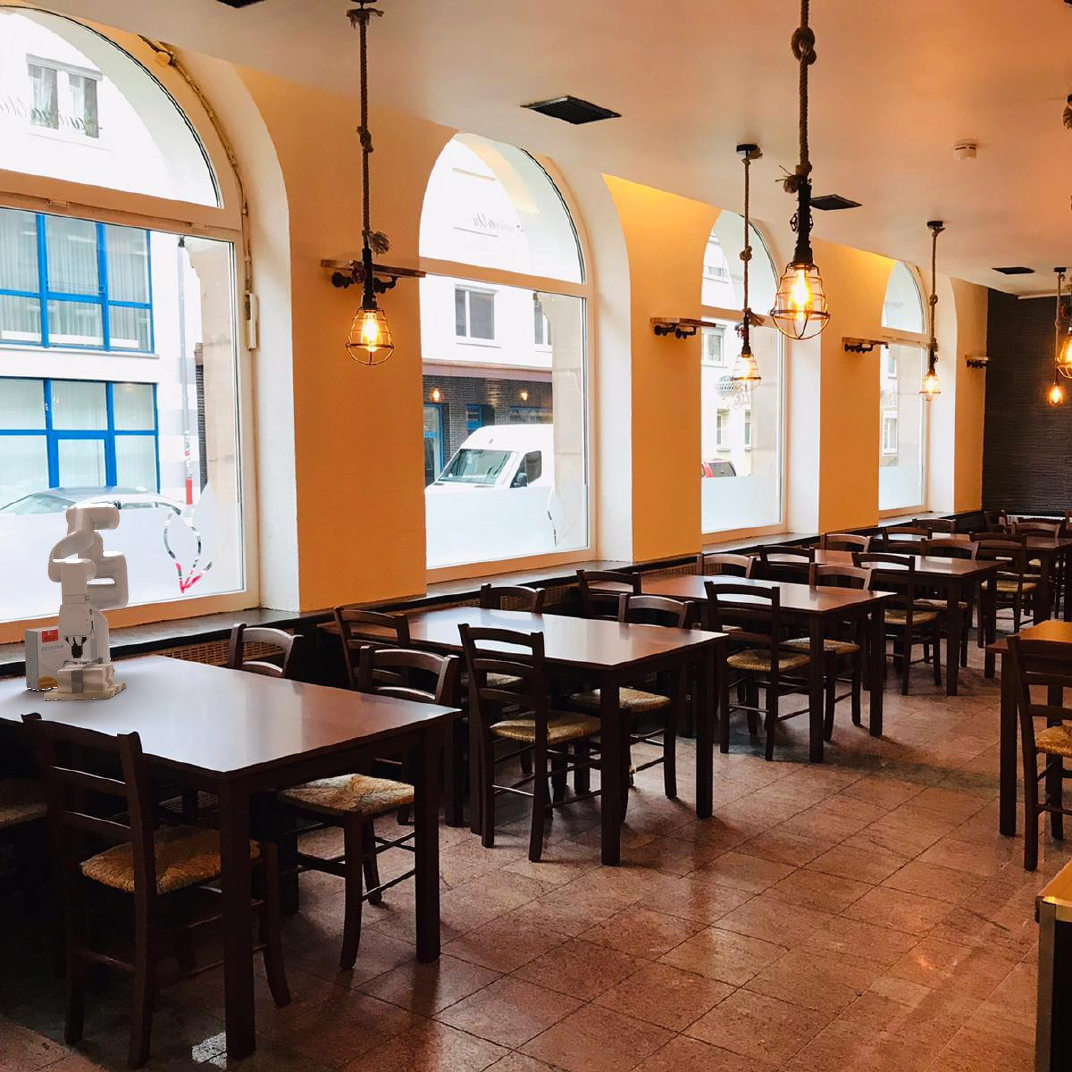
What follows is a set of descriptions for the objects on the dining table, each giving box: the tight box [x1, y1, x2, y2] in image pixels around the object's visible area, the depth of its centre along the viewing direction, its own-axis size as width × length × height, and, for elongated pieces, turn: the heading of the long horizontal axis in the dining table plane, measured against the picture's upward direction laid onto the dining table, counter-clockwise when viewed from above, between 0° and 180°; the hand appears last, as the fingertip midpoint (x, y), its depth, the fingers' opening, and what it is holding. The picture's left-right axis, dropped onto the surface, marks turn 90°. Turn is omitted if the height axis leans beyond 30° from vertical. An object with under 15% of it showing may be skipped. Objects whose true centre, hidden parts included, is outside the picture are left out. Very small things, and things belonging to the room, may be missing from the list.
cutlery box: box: [43, 657, 127, 701], centre depth 364 cm, size 17×20×10 cm
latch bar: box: [71, 658, 98, 663], centre depth 363 cm, size 16×3×1 cm, turn 2°
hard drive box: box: [23, 625, 81, 690], centre depth 376 cm, size 16×8×20 cm, turn 143°
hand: (77, 657), depth 357 cm, fingers closed
